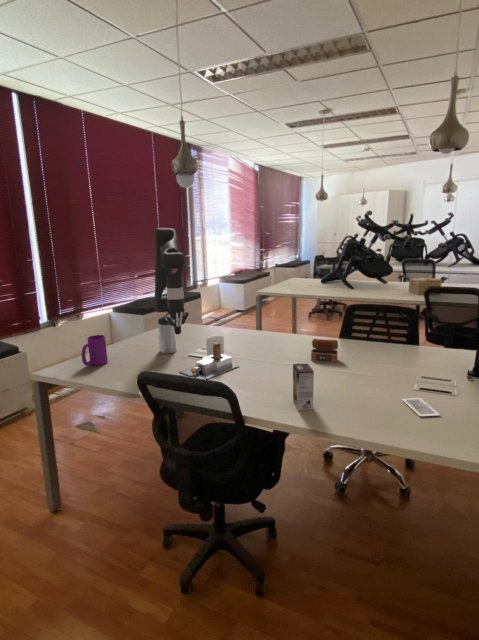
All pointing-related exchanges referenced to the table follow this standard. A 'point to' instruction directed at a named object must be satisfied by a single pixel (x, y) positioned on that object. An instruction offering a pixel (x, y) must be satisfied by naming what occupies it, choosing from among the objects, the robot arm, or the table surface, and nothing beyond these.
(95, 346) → the mug
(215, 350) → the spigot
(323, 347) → the box
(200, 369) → the lock pin
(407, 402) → the touchpad
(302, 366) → the coffee box
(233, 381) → the table surface
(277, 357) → the table surface
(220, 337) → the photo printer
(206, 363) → the dock
